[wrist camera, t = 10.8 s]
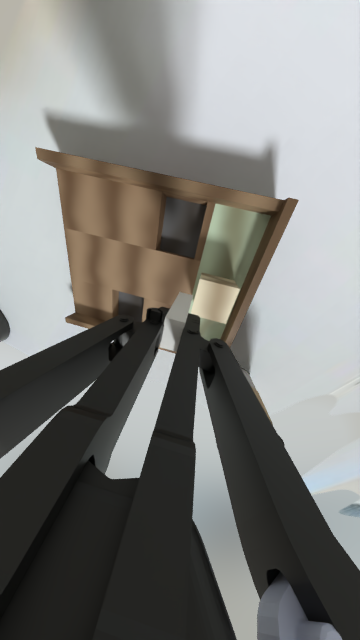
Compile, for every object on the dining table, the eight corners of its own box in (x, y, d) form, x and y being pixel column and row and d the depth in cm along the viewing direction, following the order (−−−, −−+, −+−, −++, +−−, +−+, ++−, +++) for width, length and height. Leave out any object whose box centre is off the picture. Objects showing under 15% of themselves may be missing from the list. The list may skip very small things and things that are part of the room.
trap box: (85, 311, 33) (61, 324, 28) (70, 166, 22) (26, 142, 17) (217, 349, 31) (219, 370, 26) (275, 211, 20) (298, 199, 15)
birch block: (193, 302, 25) (190, 314, 21) (201, 272, 23) (199, 278, 18) (222, 310, 25) (225, 324, 21) (234, 280, 23) (239, 288, 18)
